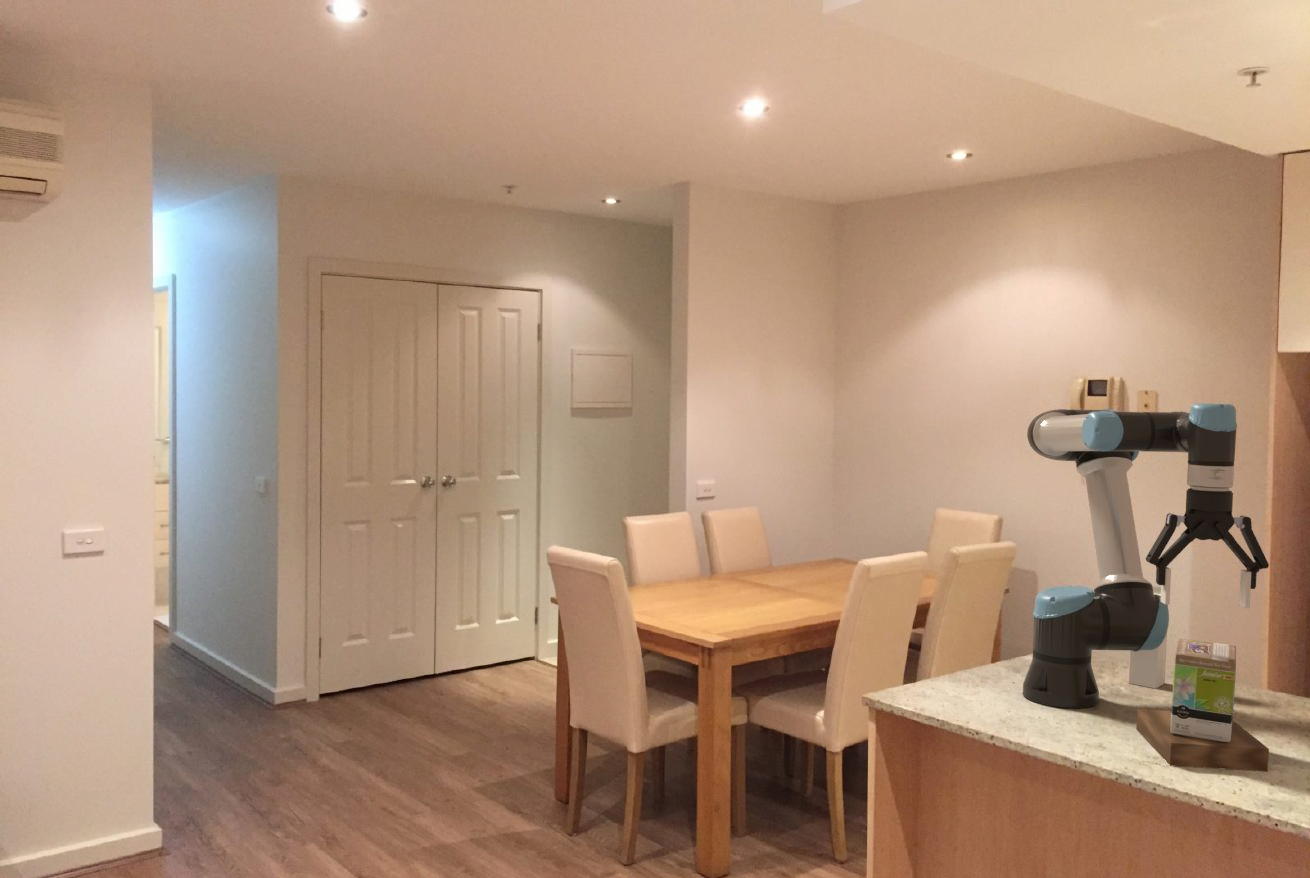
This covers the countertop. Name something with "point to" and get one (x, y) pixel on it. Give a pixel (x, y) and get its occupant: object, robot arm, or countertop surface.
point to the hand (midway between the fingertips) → (1204, 605)
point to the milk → (1149, 663)
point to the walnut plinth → (1201, 745)
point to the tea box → (1203, 690)
